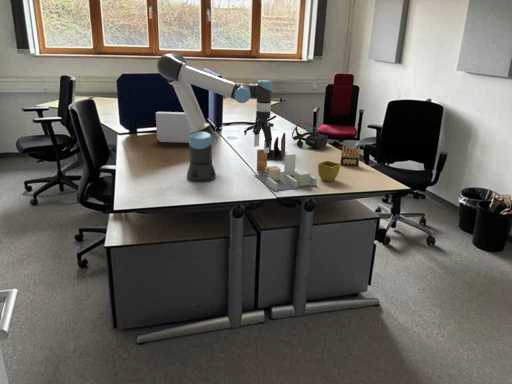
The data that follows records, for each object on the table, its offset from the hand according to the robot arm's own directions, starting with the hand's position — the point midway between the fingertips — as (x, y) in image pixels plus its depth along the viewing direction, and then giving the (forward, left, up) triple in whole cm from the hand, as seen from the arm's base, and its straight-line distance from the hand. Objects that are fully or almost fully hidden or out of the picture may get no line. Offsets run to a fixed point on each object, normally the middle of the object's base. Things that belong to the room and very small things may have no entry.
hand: (261, 149), depth 231 cm
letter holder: (-26, +22, -13) cm, 37 cm away
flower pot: (+24, +28, -13) cm, 40 cm away
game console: (-81, -28, -13) cm, 86 cm away
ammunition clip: (+6, +54, -13) cm, 56 cm away
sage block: (+20, +11, -12) cm, 26 cm away
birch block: (+8, 0, -12) cm, 15 cm away
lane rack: (+18, +6, -13) cm, 23 cm away
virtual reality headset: (-43, +55, -13) cm, 71 cm away
